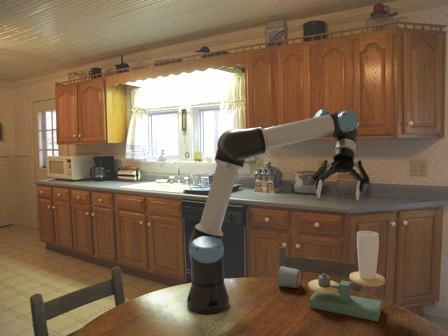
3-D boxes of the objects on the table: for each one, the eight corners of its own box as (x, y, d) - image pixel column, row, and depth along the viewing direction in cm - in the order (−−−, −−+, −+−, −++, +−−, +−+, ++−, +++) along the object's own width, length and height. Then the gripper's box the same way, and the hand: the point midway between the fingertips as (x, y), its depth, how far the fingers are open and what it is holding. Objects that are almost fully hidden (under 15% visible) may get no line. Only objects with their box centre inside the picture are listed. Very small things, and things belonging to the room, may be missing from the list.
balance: (304, 307, 123) (304, 273, 122) (312, 295, 133) (312, 263, 132) (383, 324, 111) (383, 286, 110) (385, 309, 121) (386, 274, 120)
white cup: (368, 283, 113) (368, 237, 112) (352, 276, 119) (352, 232, 118) (383, 278, 116) (383, 233, 115) (366, 272, 122) (366, 229, 121)
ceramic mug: (298, 291, 136) (298, 272, 136) (277, 288, 139) (277, 269, 139) (302, 281, 146) (302, 263, 146) (282, 279, 149) (282, 261, 149)
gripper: (379, 159, 135) (375, 205, 123) (314, 159, 147) (304, 200, 135) (378, 146, 130) (374, 192, 118) (311, 146, 142) (300, 188, 130)
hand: (337, 196), depth 127 cm, fingers open, 13 cm apart
